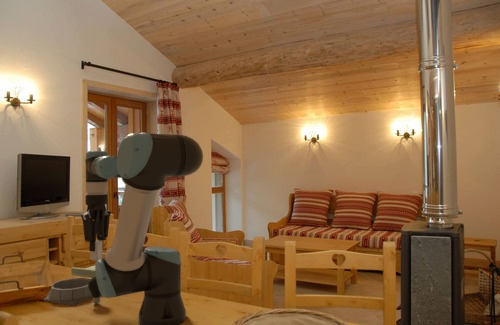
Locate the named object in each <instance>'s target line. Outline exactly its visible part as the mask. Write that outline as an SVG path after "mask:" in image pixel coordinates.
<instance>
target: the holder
mask: <svg viewBox="0 0 500 325" xmlns="http://www.w3.org/2000/svg"><path fill="white" fill-rule="evenodd" d="M91 279H92V278H88V277H75V278H74V277H73V278H66V279H59V280H57V281H54V282H51V284H52V287H51V289H50V291H49V290H48V293H47V294H46V295H47V297H46V298H44V299H43V300H44V301H43V302H49V303H54V304H59V305H61V304H62V305H68V306H75V305H78V304H80V303H82V302H85V301H87V300H89V299H92V298H93V297H92V294H91V292H90V290H89V288H88V283H89V281H90V280H91Z"/></svg>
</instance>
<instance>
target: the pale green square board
mask: <svg viewBox="0 0 500 325" xmlns="http://www.w3.org/2000/svg"><path fill="white" fill-rule="evenodd" d="M71 276H74V277H79V278H88V279H92V278H93V277H96V272H95V265H91V266H89V267H86V268H85V267H83V268H82V267H71Z"/></svg>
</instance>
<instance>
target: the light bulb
mask: <svg viewBox="0 0 500 325" xmlns="http://www.w3.org/2000/svg"><path fill="white" fill-rule="evenodd" d="M90 279H91V280H90V281H89V283H88V288H89V290H90V292H91V294H92V297H91V298H92V303H93V304H94V305H95V306H97V305H98V304H99V303H101V296H102V295H101V293H100V291H99V288H98V284H97V280H96V277H93V278H90Z"/></svg>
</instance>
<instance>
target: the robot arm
mask: <svg viewBox="0 0 500 325" xmlns="http://www.w3.org/2000/svg"><path fill="white" fill-rule="evenodd" d="M203 160H204V153H203V150H202V148H201V146H200V144H199V143H198V142H197V141H196V140H195V139H193V138H191V136H187V135H184V134H167V133H164V134H163V133H149V132H140V133H139V132H133V133H129V134H127V135H126V136H125V137H124V138H122V141H120V144H119V147H118V150H117V154H116V155H115V156H114V155H108V152H107V151H104V150H89V151H87V152H86V153H85V160H84V162H85V193H86V194H85V200H84V201H85V202H84V203H85V205H86V206H87V208H86V212H85V213H82V214H80V217H81V219H82V220H81V221H82V228H83V236H84V241H85V242H88V244H89V260H90V261H95V263H94V264H95V272H96V280H97V284H98V288H99V291H100V293H101V296H102V297H103V298H109V299H110V298H117V297H122V296H127V295H132V294H136V293H143V300H142V303H141V306H140V309H139V311H138V323H139V324H140V325H180V324H182V323H184V322H185V321H186V318H187V310H186V307H185V304H184V301H183V297H182V292H181V287H182V286H181V285H182V282H181V281H182V280H181V279H182V278H181V277H182V276H181V275H182V259H181V258H182V256H181V252H180V251H178V249H175V248H172V247H163V246H148V247H145V248H144V244H145V239H146V236H147V232H148V228H149V223H150V222H151V221H150V220H151V216H152V213H153V210H154V205H155V201H156V197H157V192H158V191H160V190H161V189H163V188H164V187H165V184H166V181H167V178H177V177H178V178H179V177H187V176H190V175H192V174H194V173H196V172H197V171H198V170H199V169H200V168H201V166H202V164H203ZM120 178H121V180H122V181H123V183H124V184H125V185H124V191H123V195H122V199H121V200H122V201H121V205H120V210H119V214H118V218H117V224H116V228H115V233H114V237H113V241H112V246H110V247H108V249H107V250H106V251H105V255H104V254H103V253H104V252H103V250H104V241H106V240H107V238H108V237H109V236H108V235H109V227H110V217H111V214H112V211H111V210H109V209H107V206H106V205H108V192H109V189H108V188H109V181H108V179H120ZM143 248H144V250H143Z"/></svg>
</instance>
